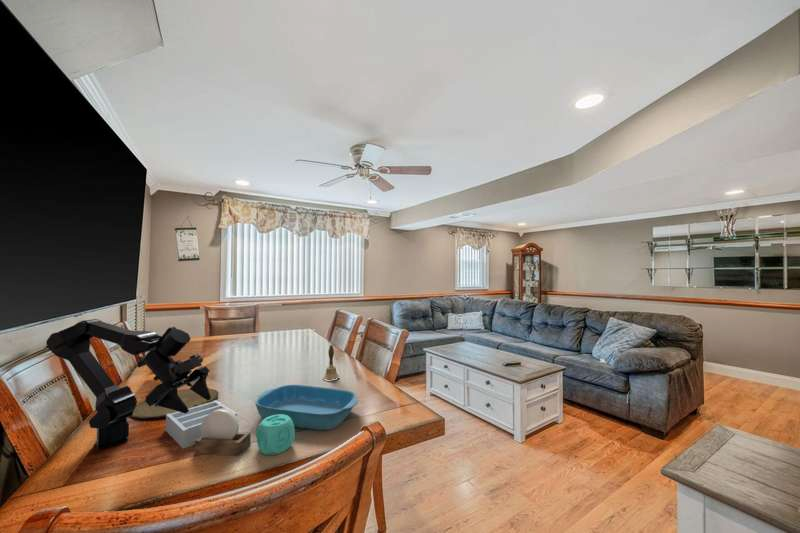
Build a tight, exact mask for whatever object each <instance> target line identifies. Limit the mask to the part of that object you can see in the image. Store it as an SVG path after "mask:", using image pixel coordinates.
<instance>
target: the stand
mask: <svg viewBox="0 0 800 533" xmlns="http://www.w3.org/2000/svg"><path fill="white" fill-rule="evenodd" d="M251 436H252V432H250V431H238V433H237V435H236V436H235V438H234V439H232V440H221V439H203V437H202V436H201V437H200V438H198V439H197V440H195V445H194V454H197V455H199V454H204V455H217V456H218V455H220V456H221V455H222V456H240V455H241V454H242V453H244V451H245V450H246V449H247V448H248V447H249V446H250V445H251V444H252V442H251V440H252V439H251V438H252V437H251Z"/></svg>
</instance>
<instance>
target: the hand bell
mask: <svg viewBox="0 0 800 533" xmlns="http://www.w3.org/2000/svg"><path fill="white" fill-rule="evenodd" d="M334 355H335V350H334V346H333V345H331V344H330V345H329V348H328V358H329V363H328V364H329V365H328V366H327V367H326V371H325V374H324V376H323V377H322V379H323V378H324V379H327V380H332V379H336V378H338V377H340V375H339V374H338V372H337V367H336V366H335V365H334V359H333V358H334Z"/></svg>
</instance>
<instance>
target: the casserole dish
mask: <svg viewBox="0 0 800 533" xmlns="http://www.w3.org/2000/svg"><path fill="white" fill-rule="evenodd" d="M358 401H359V399H357V394H356V392H354V391H352V390H351V391H350V390H348V389H347V390H346V389H340V388H330V387H321V386H312V385H307V384H306V385H305V384H287V385H286V384H285V385H282V386H278V387H275V388H271V389H268V390H265V391H263V392H261V393H260V394H259V395H258V398H257V399H256V400H255V406H256V409H257V412H258V414H259V416H260V418H261V419H262V420H264V419H265V418H267V417H269V416H272V415H278V414H283V415H287V416H289V417H290V418H291V419H292V421H293V424H294V428H301V429H307V430H308V429H309V430H317V431H330V430H333V429H335V428H336V427H338V426H339V425H341V424H342V423H343V422H344V420H345V419H346V418H347V417H348V416H349V414H350V413H351V412H352V410H353V408H355V406H357V404H358V403H359V402H358Z"/></svg>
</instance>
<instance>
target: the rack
mask: <svg viewBox="0 0 800 533" xmlns="http://www.w3.org/2000/svg"><path fill="white" fill-rule="evenodd" d="M221 408H224V409H228V410H230V411H232V412H233V413H234V414H235V415H236V417H237V418H238V413H237V412H236V411H234V410H232V409H231V408H229V407H228V406H226V405H225V404H223V402H222V403H221V402H220V401H218V400H217V399H214V400H213V402H210V403H207V404H203V405H200V406H196V407H193V408H189V409H188V410H189V411H188V412H187V413H186V414H185V413H182V412H175V413H172V414H170V413H169V414H166V417H165V431H166V433H168V435H169V436H170V437H171V438H172V439H173V440H174V441H175V442H176V443H177V445H179V446H180V448H182V449H183V450H184V449H187V448H189V447H192V446H195V440H197V439H198V438H200V437H201V436H202V434H201V424H202V422H203V420H204V418H205V417H206V416H207V415H209V414H210V413H212V412H213V411H215V410H217V409H221Z"/></svg>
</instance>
